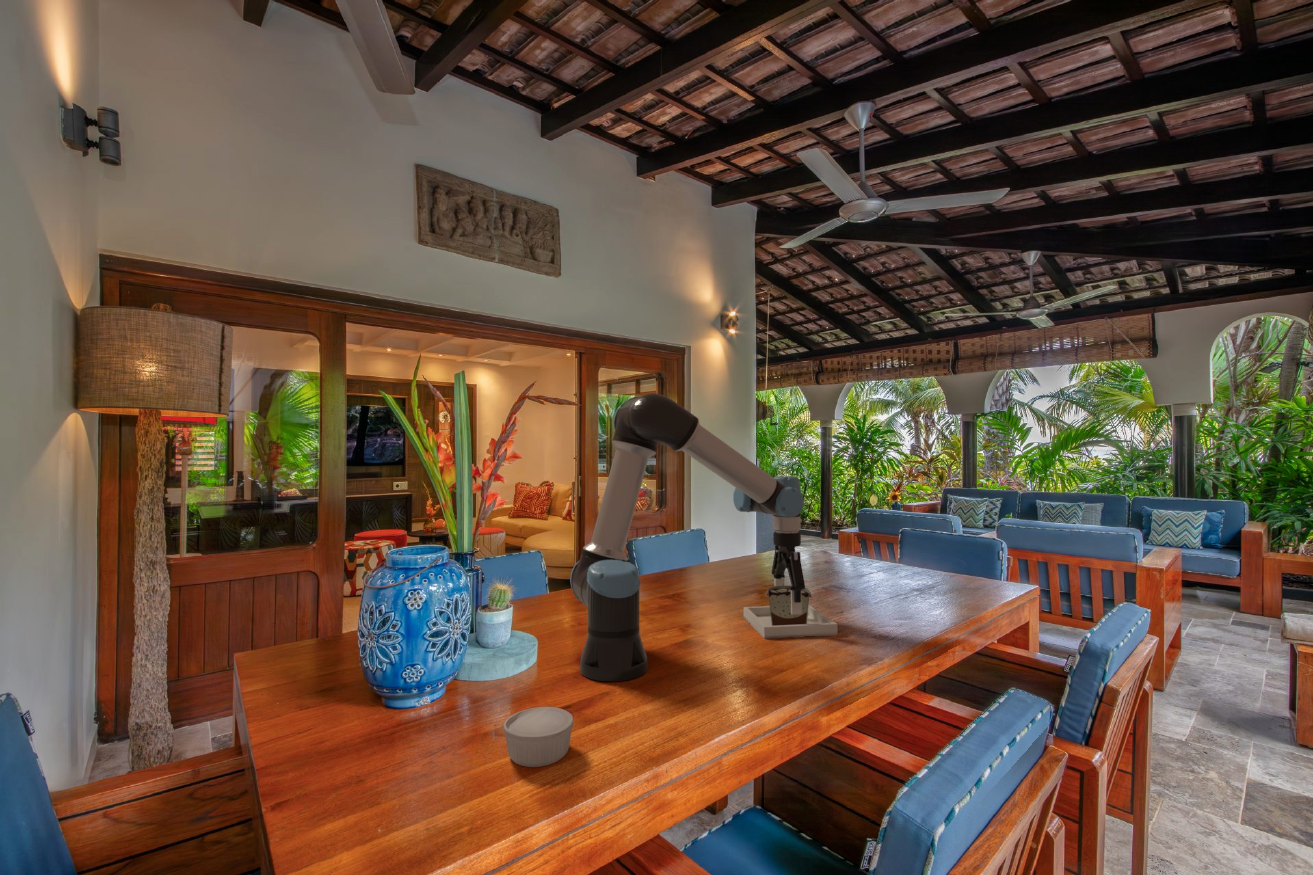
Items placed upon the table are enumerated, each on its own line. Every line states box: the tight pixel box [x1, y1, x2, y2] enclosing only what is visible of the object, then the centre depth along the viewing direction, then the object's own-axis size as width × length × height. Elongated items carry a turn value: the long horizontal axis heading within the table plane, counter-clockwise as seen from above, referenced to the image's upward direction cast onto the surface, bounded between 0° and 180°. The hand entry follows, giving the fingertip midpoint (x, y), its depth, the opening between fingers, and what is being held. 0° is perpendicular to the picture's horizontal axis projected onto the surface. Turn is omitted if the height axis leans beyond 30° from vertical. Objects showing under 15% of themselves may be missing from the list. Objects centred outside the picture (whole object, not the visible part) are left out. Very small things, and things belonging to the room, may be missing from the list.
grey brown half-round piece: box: [765, 585, 812, 626], centre depth 164 cm, size 12×6×10 cm, turn 85°
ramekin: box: [503, 706, 574, 768], centre depth 95 cm, size 11×11×5 cm
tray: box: [743, 604, 839, 640], centre depth 164 cm, size 20×20×3 cm
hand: (787, 607), depth 164 cm, fingers open, 13 cm apart
